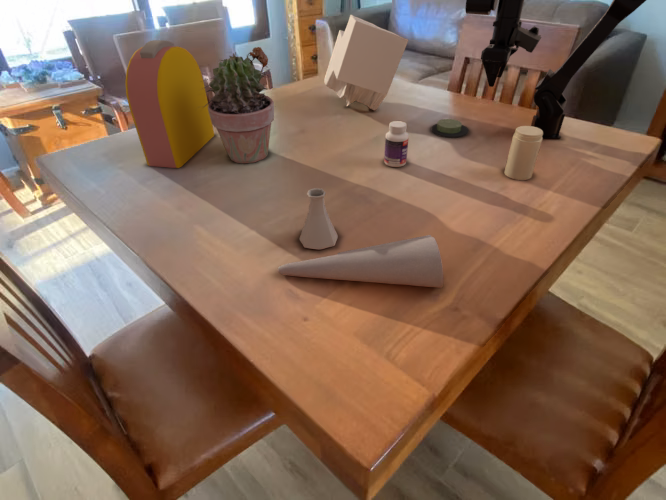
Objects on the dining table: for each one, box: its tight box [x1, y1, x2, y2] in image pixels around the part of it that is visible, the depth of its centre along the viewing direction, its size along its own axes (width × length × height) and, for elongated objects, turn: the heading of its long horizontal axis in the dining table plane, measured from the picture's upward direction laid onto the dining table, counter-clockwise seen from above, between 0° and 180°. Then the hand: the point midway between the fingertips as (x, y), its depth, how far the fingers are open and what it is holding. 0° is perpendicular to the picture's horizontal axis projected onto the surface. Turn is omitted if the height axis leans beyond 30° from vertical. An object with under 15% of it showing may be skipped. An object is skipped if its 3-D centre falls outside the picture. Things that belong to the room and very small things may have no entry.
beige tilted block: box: [323, 14, 409, 112], centre depth 130 cm, size 20×16×25 cm
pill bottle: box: [383, 120, 410, 168], centre depth 101 cm, size 5×5×10 cm
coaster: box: [431, 123, 469, 139], centre depth 119 cm, size 10×10×1 cm
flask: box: [299, 187, 339, 250], centre depth 77 cm, size 7×7×10 cm
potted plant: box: [200, 46, 275, 164], centre depth 101 cm, size 18×20×25 cm
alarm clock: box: [124, 39, 215, 169], centre depth 105 cm, size 21×9×26 cm, turn 168°
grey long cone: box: [277, 234, 444, 289], centre depth 68 cm, size 8×9×26 cm
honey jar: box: [503, 125, 544, 181], centre depth 95 cm, size 6×6×10 cm
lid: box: [436, 118, 463, 134], centre depth 118 cm, size 7×7×2 cm
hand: (495, 81), depth 114 cm, fingers open, 9 cm apart
